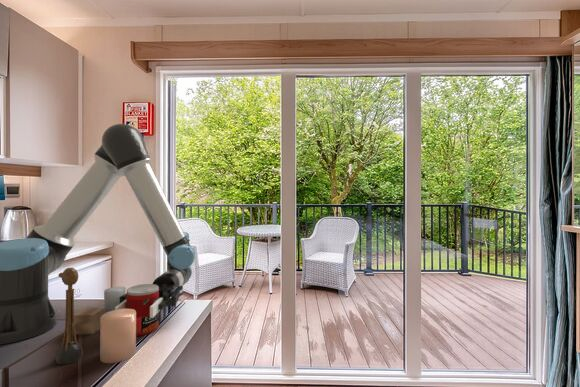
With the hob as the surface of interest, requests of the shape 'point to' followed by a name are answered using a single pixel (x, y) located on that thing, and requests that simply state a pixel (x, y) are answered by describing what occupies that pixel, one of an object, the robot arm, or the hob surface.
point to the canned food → (143, 306)
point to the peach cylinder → (117, 335)
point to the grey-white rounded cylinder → (112, 298)
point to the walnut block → (88, 320)
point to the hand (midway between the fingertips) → (134, 312)
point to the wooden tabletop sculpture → (69, 322)
